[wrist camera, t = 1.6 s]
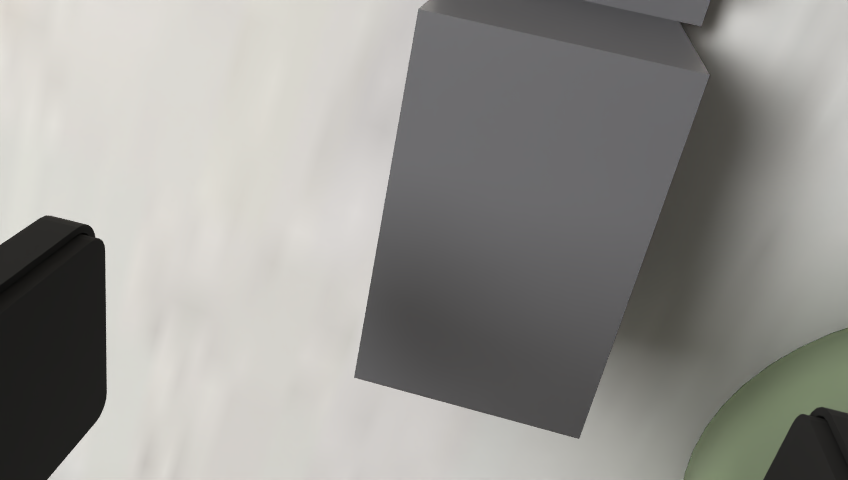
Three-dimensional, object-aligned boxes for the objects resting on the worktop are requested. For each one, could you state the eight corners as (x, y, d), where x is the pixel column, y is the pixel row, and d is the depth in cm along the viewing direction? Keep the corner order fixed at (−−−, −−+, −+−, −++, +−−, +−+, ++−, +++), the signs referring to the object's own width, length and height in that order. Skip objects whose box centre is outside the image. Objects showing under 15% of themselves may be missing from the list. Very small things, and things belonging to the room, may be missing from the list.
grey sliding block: (726, -72, 17) (788, -45, 12) (598, 304, 22) (602, 444, 16) (463, -127, 18) (410, -124, 12) (393, 251, 22) (332, 371, 17)
